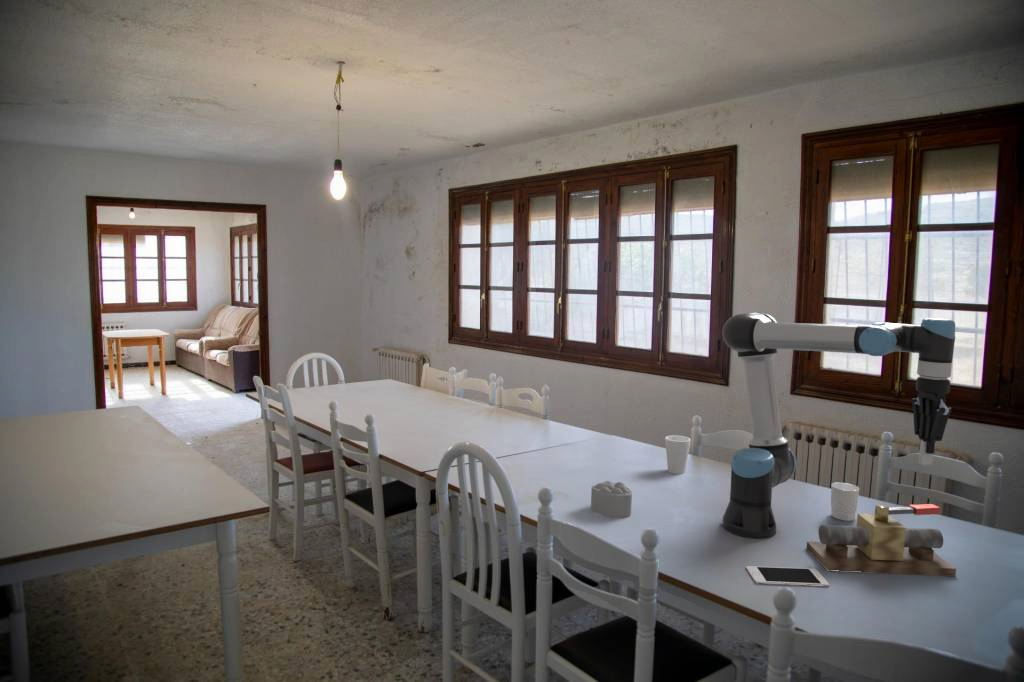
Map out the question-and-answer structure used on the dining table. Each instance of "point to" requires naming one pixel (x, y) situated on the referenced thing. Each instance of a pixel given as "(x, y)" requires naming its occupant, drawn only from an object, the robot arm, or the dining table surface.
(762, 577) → the cell phone
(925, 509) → the valve lever
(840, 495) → the white cup
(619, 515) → the lumpy-topped squat cylinder
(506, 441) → the dining table surface
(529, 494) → the dining table surface
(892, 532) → the pipe rig
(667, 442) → the foam cup
